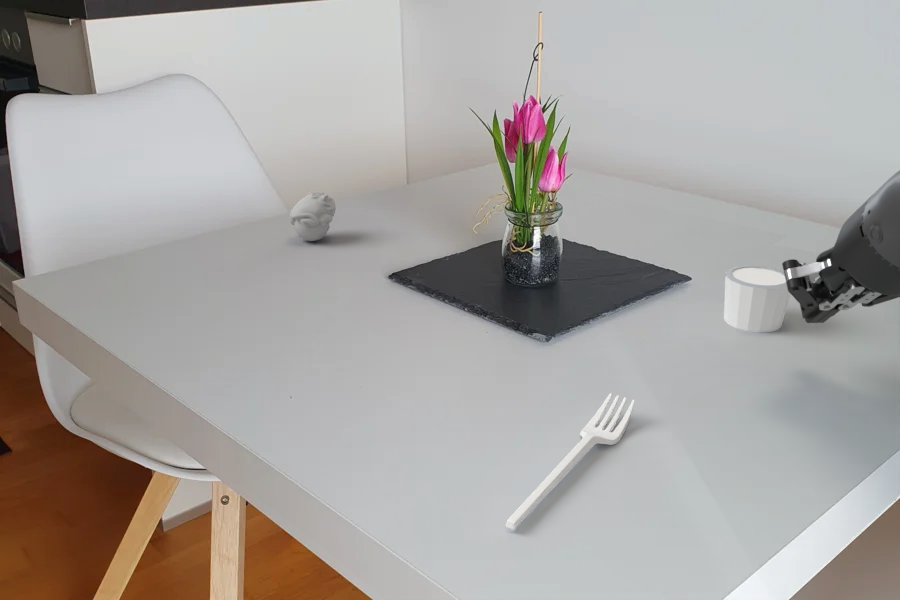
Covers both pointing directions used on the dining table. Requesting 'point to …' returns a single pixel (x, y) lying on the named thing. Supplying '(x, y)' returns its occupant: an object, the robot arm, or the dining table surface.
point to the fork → (577, 454)
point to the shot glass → (755, 298)
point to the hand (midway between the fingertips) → (811, 313)
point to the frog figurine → (313, 215)
